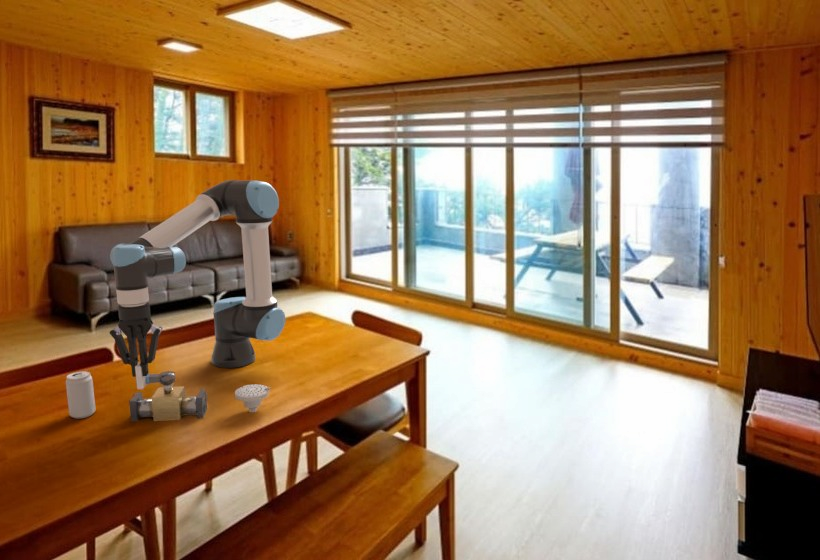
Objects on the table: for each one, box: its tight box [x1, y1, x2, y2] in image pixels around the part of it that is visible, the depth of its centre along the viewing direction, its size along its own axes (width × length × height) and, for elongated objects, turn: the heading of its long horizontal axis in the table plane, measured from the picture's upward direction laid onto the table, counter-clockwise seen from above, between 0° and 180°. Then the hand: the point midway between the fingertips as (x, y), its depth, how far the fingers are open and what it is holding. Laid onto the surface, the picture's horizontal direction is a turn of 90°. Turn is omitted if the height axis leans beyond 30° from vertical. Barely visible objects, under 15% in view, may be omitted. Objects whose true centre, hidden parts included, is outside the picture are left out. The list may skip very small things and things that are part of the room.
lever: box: [135, 370, 176, 386], centre depth 153 cm, size 10×4×2 cm, turn 102°
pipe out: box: [128, 391, 153, 423], centre depth 154 cm, size 6×6×6 cm
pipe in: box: [180, 388, 208, 419], centre depth 157 cm, size 6×6×6 cm
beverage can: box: [65, 371, 97, 420], centre depth 154 cm, size 6×6×12 cm
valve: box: [151, 383, 186, 422], centre depth 155 cm, size 7×7×10 cm
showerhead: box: [234, 383, 271, 413], centre depth 159 cm, size 9×7×10 cm
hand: (141, 387), depth 150 cm, fingers closed
